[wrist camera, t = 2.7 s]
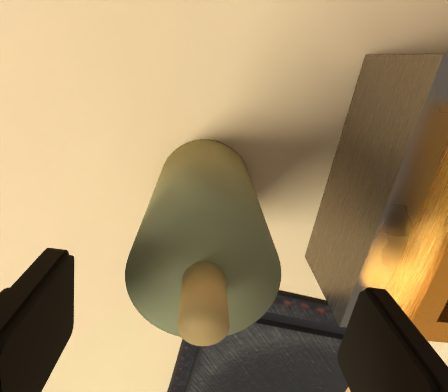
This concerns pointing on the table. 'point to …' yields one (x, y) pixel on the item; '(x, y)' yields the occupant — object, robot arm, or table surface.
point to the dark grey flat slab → (269, 353)
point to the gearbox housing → (389, 194)
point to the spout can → (203, 248)
